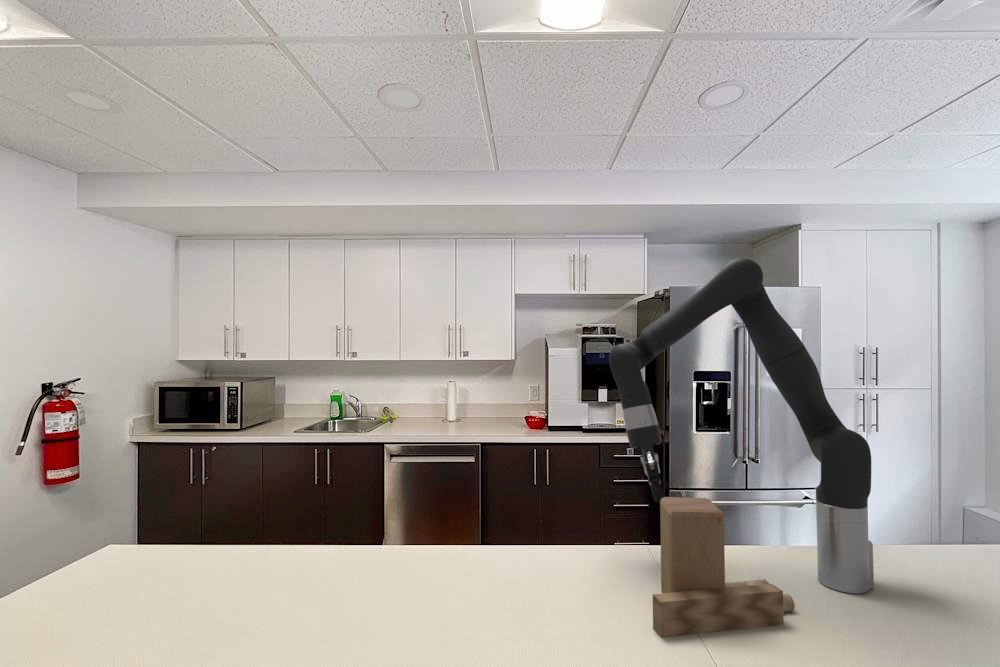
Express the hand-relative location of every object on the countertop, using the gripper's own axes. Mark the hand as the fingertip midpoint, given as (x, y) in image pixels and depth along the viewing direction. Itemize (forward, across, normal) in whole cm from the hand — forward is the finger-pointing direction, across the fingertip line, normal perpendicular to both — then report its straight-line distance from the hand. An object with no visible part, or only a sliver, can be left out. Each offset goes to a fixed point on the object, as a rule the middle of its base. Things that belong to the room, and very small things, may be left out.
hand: (659, 501), depth 119 cm
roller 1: (+19, -9, -13) cm, 24 cm away
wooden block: (+19, -14, -1) cm, 24 cm away
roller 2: (+21, -13, -14) cm, 29 cm away
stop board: (+20, -21, -5) cm, 29 cm away
